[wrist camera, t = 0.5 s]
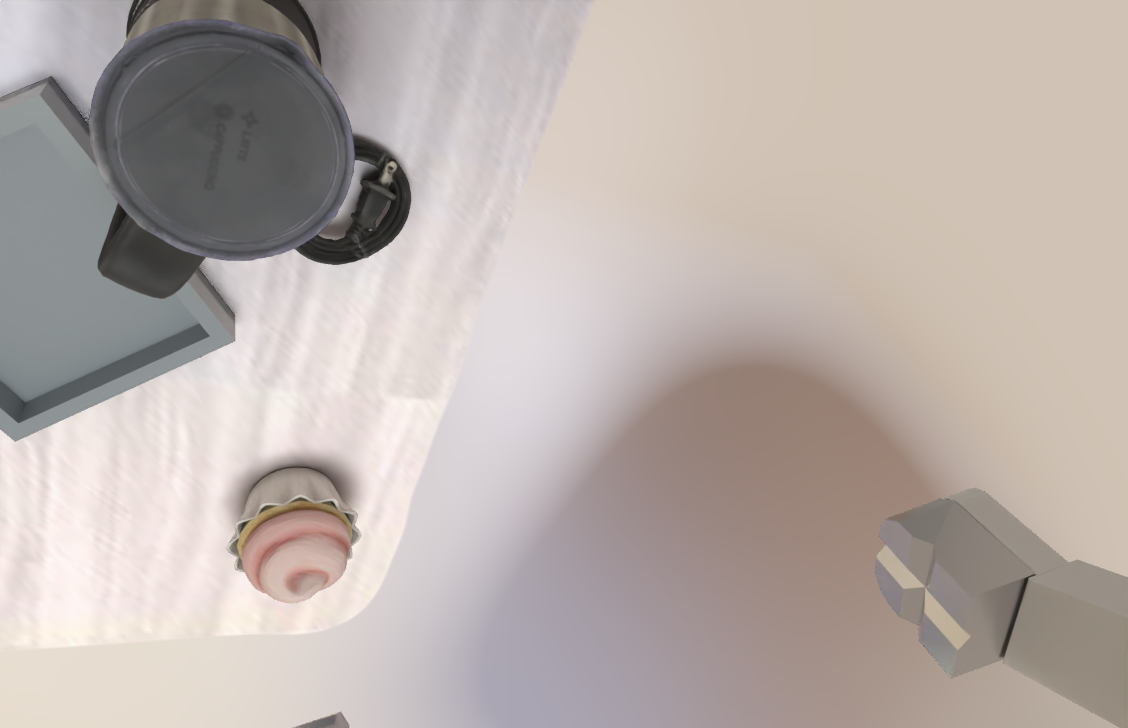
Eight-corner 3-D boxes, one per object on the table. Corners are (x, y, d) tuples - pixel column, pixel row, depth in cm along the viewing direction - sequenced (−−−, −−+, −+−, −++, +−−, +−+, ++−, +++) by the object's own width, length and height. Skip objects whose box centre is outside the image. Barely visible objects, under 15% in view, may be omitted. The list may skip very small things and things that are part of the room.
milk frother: (140, -84, 34) (100, -24, 23) (456, 36, 42) (537, 124, 31) (106, 194, 41) (62, 344, 30) (386, 254, 49) (433, 391, 38)
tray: (-226, 192, 36) (-256, 219, 34) (51, 76, 37) (39, 94, 35) (25, 410, 46) (15, 441, 44) (234, 315, 47) (235, 341, 45)
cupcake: (359, 446, 57) (379, 544, 50) (348, 531, 62) (365, 632, 55) (226, 451, 53) (225, 559, 46) (225, 541, 58) (225, 652, 51)
